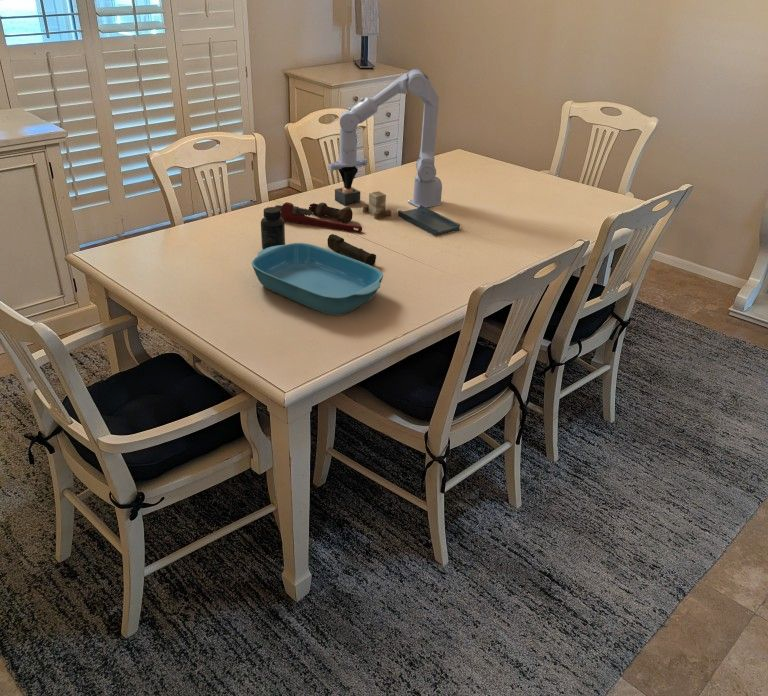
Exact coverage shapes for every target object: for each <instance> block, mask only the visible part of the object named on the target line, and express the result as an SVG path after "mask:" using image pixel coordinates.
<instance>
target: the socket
mask: <svg viewBox="0 0 768 696" xmlns="http://www.w3.org/2000/svg"><path fill="white" fill-rule="evenodd" d="M362 212H363V213H365V214H367V213H369V204H367V205H363V206H362ZM389 217H392V210H391V209H385V210H384V211H379V212H375V213H374V216H373V218H374V220H380V219H385V218H389Z"/></svg>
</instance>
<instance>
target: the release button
mask: <svg viewBox="0 0 768 696" xmlns="http://www.w3.org/2000/svg"><path fill="white" fill-rule="evenodd" d="M341 188H342V192H344V193H350V192H353V188H354V187H353V188H352V186H351V189H346V188H344V186H343V187H341Z"/></svg>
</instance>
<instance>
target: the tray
mask: <svg viewBox="0 0 768 696" xmlns="http://www.w3.org/2000/svg"><path fill="white" fill-rule="evenodd" d="M397 217H398V218H400V219H401V220H404V221H406V222H408V223H410V224H411V225H414V226H416V227H418V228H419V229H421V230H423V231H425V232H426V231H427V233H429V234H430V235H433V236H434V237H438V236H442V234H443V235H446V234H450V233H455V232H458V231H460V230H461V229H460V228H461V224H460V223H457V222H456V221H454V220H452V219H450V218H448V217H446V216H443V215H442V214H440V213H438V212H436V211H433V210H432V209H430V208H429V207H428V208H426V207H424V206H422V205H421V206H420V207H417V208H413V209H409V210H405V211H404V210H400V209H398V210H397ZM454 231H455V232H454Z"/></svg>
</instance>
